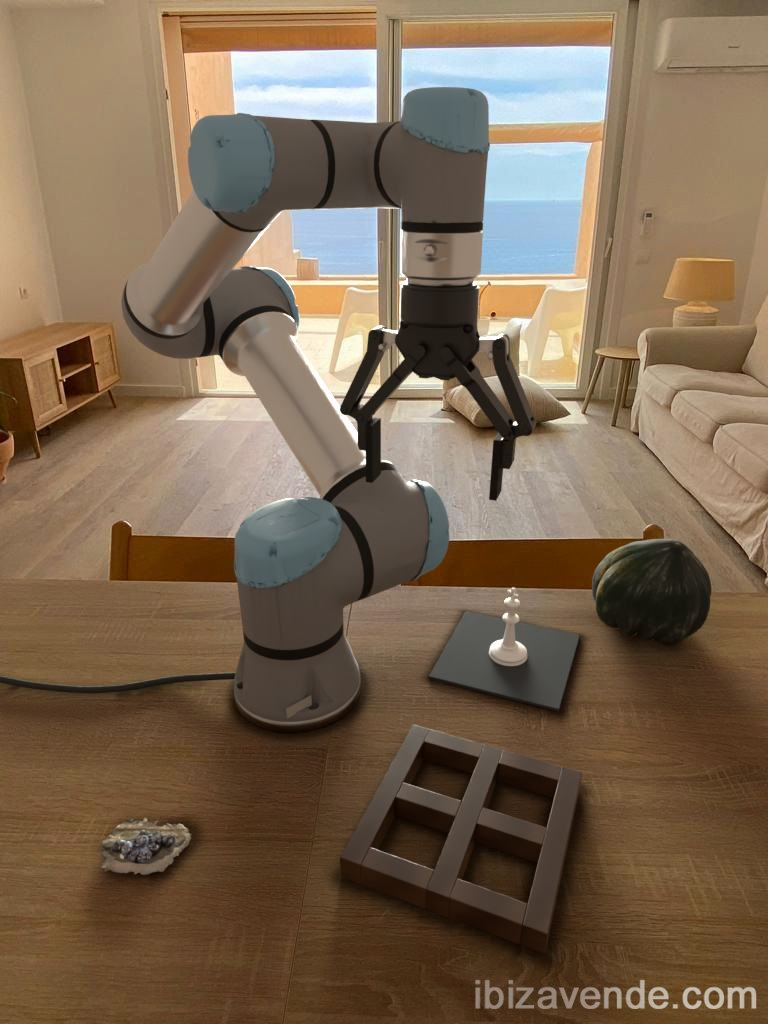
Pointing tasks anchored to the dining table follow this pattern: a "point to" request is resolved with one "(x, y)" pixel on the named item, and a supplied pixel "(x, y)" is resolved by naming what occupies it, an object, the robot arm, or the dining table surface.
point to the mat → (524, 683)
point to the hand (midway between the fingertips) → (432, 486)
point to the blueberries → (143, 846)
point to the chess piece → (509, 636)
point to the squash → (653, 590)
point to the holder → (468, 835)
